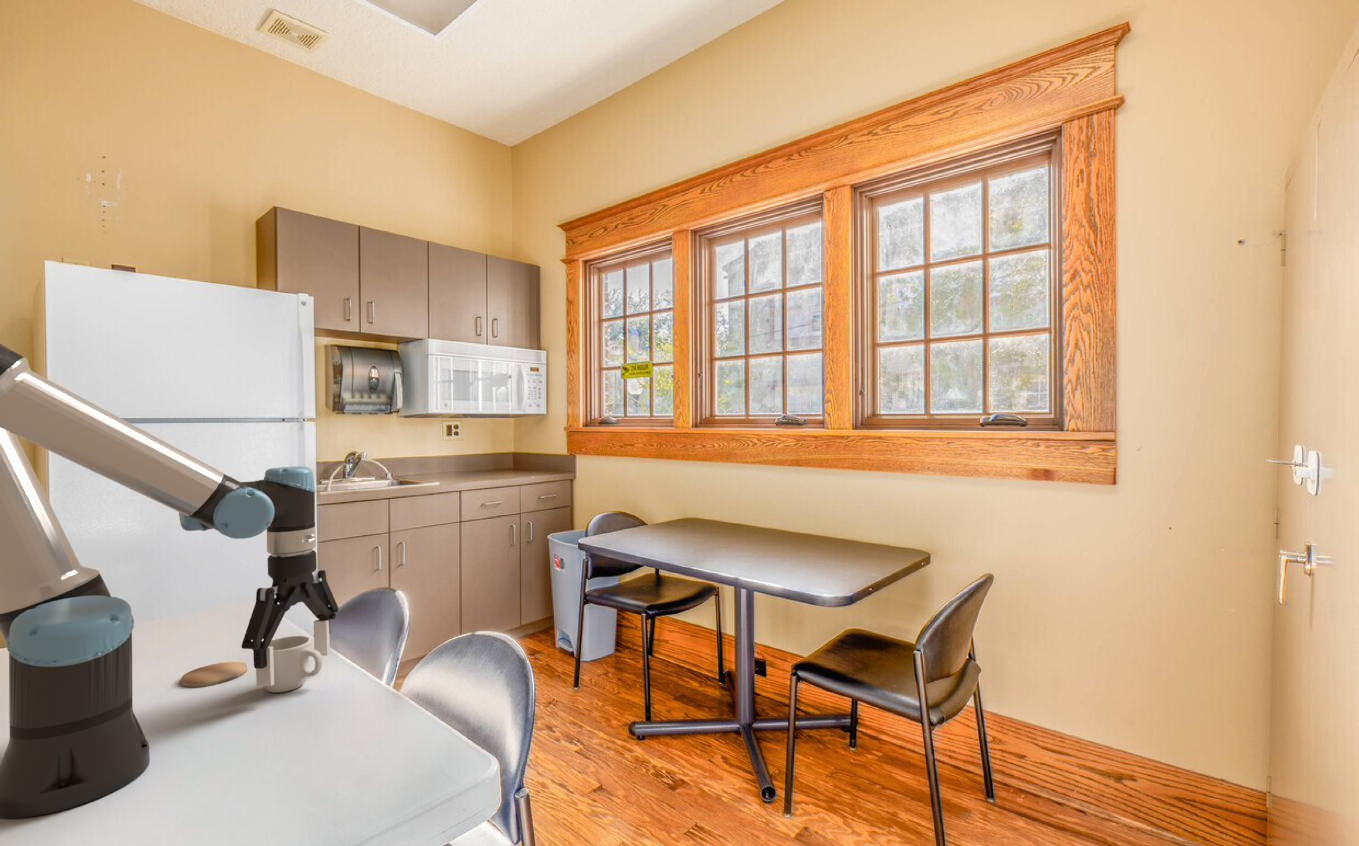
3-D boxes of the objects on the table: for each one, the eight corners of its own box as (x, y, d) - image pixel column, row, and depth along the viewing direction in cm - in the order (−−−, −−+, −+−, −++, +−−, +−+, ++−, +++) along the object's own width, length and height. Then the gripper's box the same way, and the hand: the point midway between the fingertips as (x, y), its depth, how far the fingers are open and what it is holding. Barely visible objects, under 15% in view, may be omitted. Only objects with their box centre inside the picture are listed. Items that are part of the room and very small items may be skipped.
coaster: (214, 688, 111) (214, 683, 111) (166, 685, 113) (166, 681, 113) (259, 666, 121) (259, 662, 121) (214, 664, 123) (214, 660, 123)
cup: (335, 679, 115) (335, 636, 115) (305, 698, 107) (305, 651, 107) (281, 677, 116) (281, 635, 116) (247, 696, 108) (247, 650, 108)
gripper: (254, 569, 99) (257, 700, 99) (356, 538, 124) (359, 644, 124) (212, 568, 100) (216, 699, 100) (322, 538, 125) (325, 643, 125)
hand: (295, 669), depth 112 cm, fingers open, 13 cm apart
